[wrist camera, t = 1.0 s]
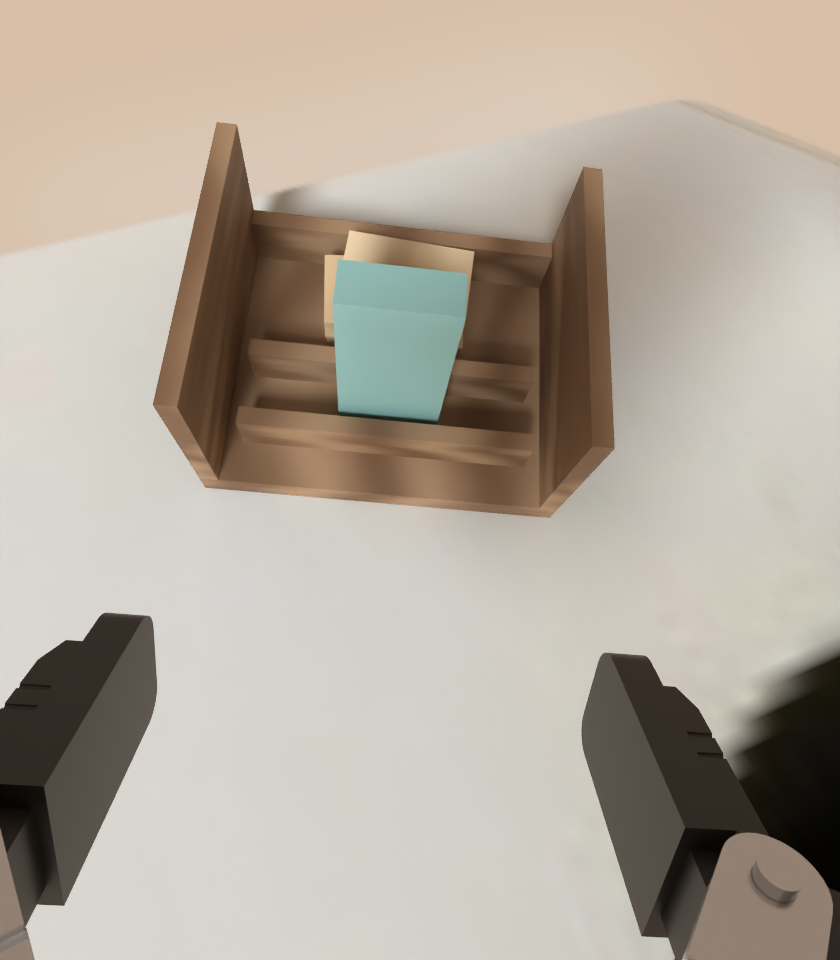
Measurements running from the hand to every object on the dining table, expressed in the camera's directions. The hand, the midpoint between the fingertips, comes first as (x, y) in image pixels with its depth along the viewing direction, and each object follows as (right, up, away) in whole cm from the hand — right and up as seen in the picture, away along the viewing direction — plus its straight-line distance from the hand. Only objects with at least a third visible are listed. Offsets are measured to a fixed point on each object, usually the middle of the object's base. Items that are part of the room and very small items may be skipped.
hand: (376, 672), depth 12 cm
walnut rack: (-1, +10, +29) cm, 31 cm away
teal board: (-1, +7, +27) cm, 28 cm away
